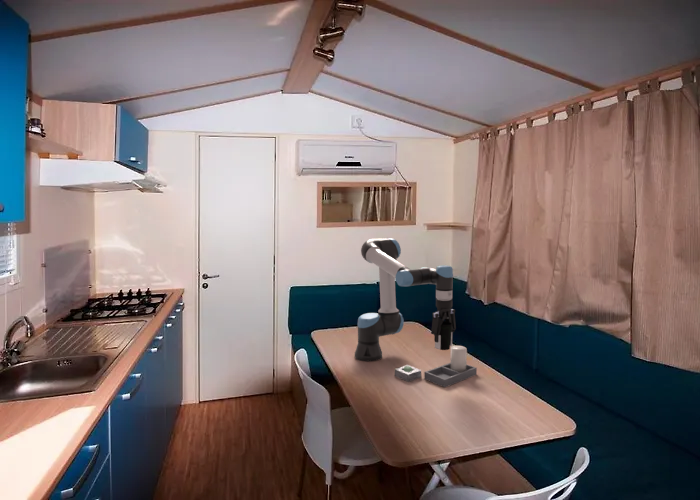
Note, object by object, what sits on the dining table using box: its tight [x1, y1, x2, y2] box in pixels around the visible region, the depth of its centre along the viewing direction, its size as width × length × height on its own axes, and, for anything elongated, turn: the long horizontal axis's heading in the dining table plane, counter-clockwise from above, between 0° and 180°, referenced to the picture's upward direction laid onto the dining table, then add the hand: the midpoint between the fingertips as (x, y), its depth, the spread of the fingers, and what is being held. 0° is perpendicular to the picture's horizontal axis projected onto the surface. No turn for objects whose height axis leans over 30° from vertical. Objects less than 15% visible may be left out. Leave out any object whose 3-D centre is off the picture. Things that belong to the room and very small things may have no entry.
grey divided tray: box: [423, 362, 478, 388], centre depth 200 cm, size 12×24×4 cm, turn 128°
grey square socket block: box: [394, 364, 422, 383], centre depth 200 cm, size 9×9×4 cm
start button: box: [404, 365, 413, 372], centre depth 200 cm, size 4×4×4 cm
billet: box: [449, 345, 468, 373], centre depth 203 cm, size 8×8×12 cm
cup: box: [439, 320, 452, 351], centre depth 195 cm, size 8×8×12 cm
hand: (443, 346), depth 195 cm, fingers closed on cup, 8 cm apart
